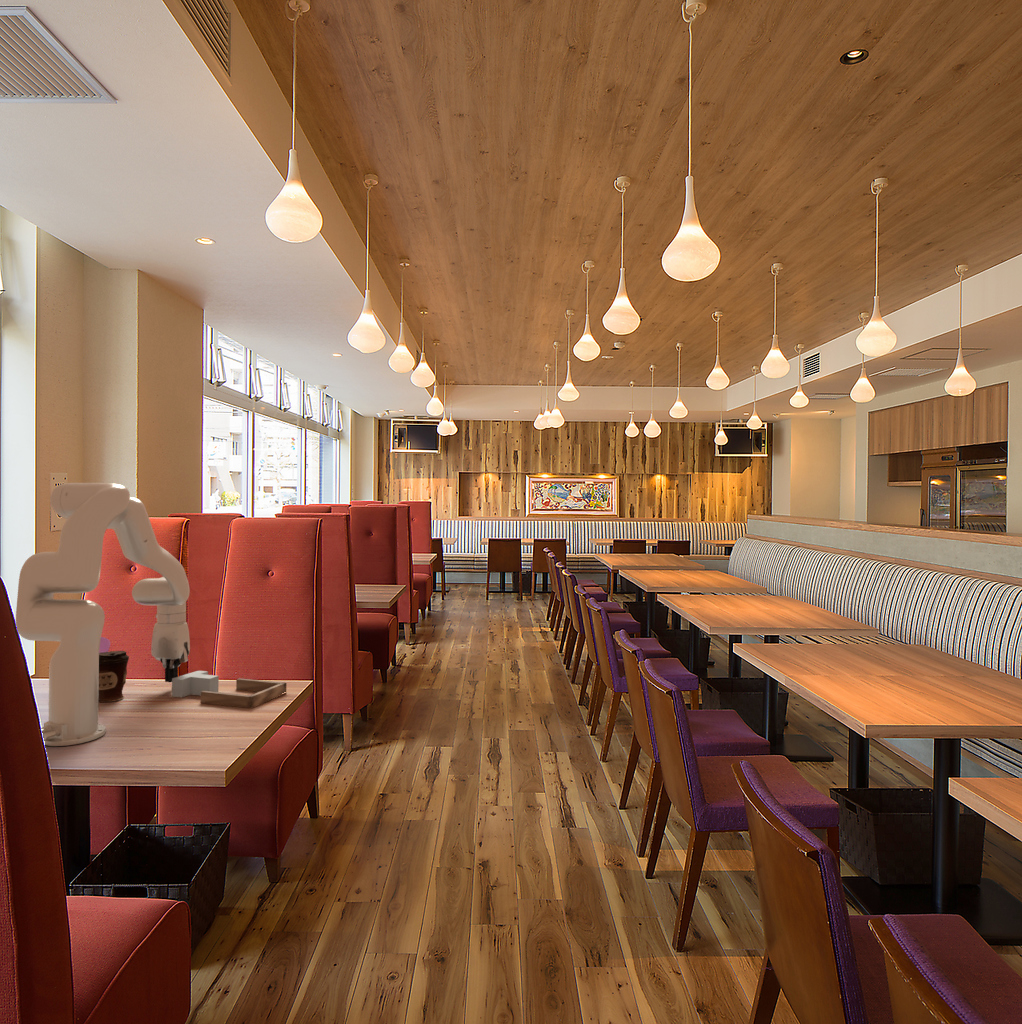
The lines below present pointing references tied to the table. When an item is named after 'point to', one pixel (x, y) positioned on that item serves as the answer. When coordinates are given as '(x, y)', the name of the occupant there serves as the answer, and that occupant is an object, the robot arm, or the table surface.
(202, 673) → the tee block
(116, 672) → the coffee cup
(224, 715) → the table surface
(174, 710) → the table surface
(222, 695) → the corral
